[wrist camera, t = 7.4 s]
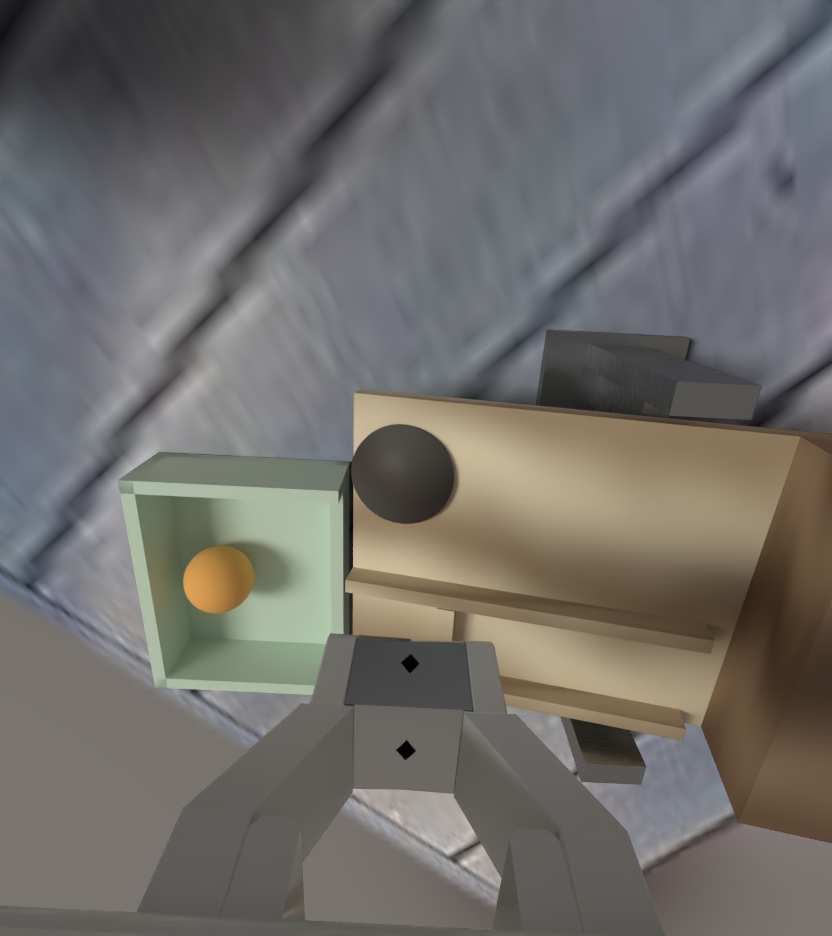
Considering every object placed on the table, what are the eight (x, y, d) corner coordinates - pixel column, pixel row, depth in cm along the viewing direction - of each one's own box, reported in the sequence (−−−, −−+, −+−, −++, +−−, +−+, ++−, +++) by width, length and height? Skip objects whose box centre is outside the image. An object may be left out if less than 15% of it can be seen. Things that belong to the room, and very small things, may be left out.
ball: (209, 529, 26) (163, 560, 23) (265, 540, 25) (224, 574, 22) (215, 582, 27) (172, 618, 24) (268, 594, 26) (230, 634, 23)
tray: (158, 452, 24) (118, 480, 21) (349, 462, 24) (338, 491, 21) (186, 639, 28) (155, 687, 25) (349, 647, 28) (339, 695, 25)
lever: (360, 388, 19) (311, 420, 15) (926, 443, 16) (1074, 504, 12) (357, 647, 24) (319, 730, 20) (799, 730, 21) (871, 851, 16)
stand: (546, 329, 22) (616, 362, 14) (683, 336, 22) (830, 373, 14) (502, 642, 28) (534, 787, 20) (609, 647, 28) (682, 794, 20)
